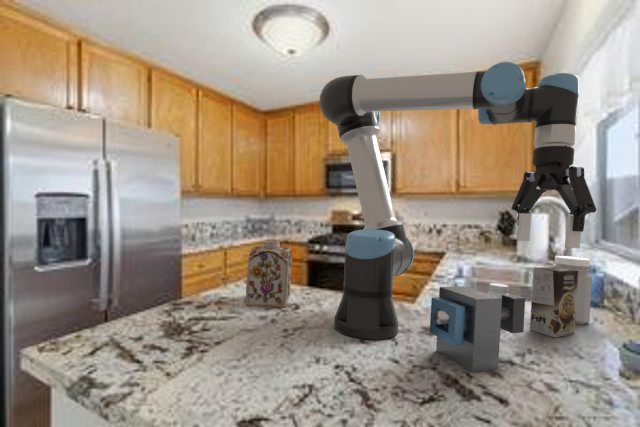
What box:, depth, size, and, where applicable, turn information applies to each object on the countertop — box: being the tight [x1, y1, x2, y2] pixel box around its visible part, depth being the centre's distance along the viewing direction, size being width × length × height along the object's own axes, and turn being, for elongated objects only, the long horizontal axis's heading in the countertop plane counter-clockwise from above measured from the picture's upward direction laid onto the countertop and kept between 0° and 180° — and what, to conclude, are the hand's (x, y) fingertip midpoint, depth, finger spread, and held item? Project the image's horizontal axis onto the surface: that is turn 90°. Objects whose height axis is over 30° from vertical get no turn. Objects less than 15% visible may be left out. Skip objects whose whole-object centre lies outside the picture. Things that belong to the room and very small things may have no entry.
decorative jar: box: [245, 240, 293, 308], centre depth 103 cm, size 12×12×18 cm
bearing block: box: [435, 285, 502, 373], centre depth 68 cm, size 6×10×13 cm, turn 19°
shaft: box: [434, 294, 526, 334], centre depth 69 cm, size 20×3×7 cm, turn 109°
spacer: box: [429, 296, 465, 346], centre depth 67 cm, size 2×7×7 cm, turn 19°
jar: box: [554, 255, 593, 325], centre depth 101 cm, size 10×10×18 cm
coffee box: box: [529, 266, 578, 338], centre depth 89 cm, size 9×6×16 cm
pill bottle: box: [486, 282, 510, 298], centre depth 96 cm, size 6×6×10 cm
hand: (545, 244), depth 77 cm, fingers open, 13 cm apart
